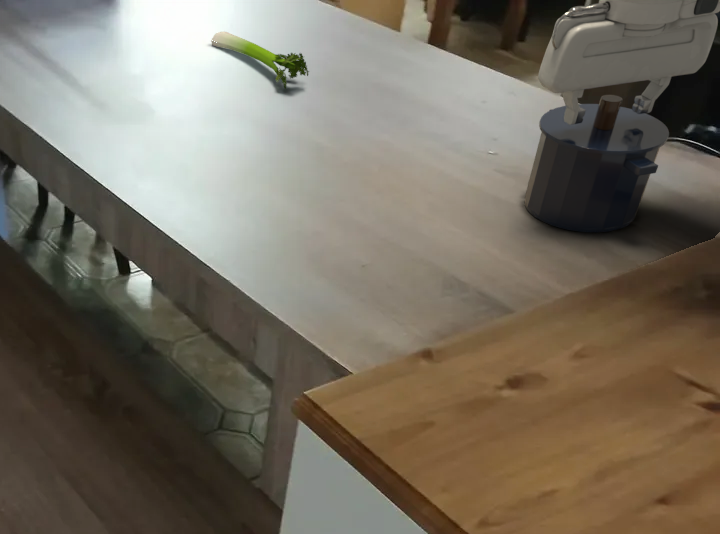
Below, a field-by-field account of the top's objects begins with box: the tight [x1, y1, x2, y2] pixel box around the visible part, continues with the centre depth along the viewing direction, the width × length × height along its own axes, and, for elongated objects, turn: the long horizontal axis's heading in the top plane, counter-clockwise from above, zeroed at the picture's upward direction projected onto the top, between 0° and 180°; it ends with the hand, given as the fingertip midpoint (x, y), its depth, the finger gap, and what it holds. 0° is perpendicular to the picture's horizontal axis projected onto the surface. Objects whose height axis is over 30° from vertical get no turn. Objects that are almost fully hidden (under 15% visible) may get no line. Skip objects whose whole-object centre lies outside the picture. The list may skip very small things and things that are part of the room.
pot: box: [524, 108, 660, 233], centre depth 119 cm, size 14×19×10 cm
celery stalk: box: [210, 31, 310, 90], centre depth 166 cm, size 6×7×30 cm
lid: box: [538, 94, 670, 155], centre depth 115 cm, size 15×15×5 cm
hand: (606, 117), depth 115 cm, fingers open, 8 cm apart
